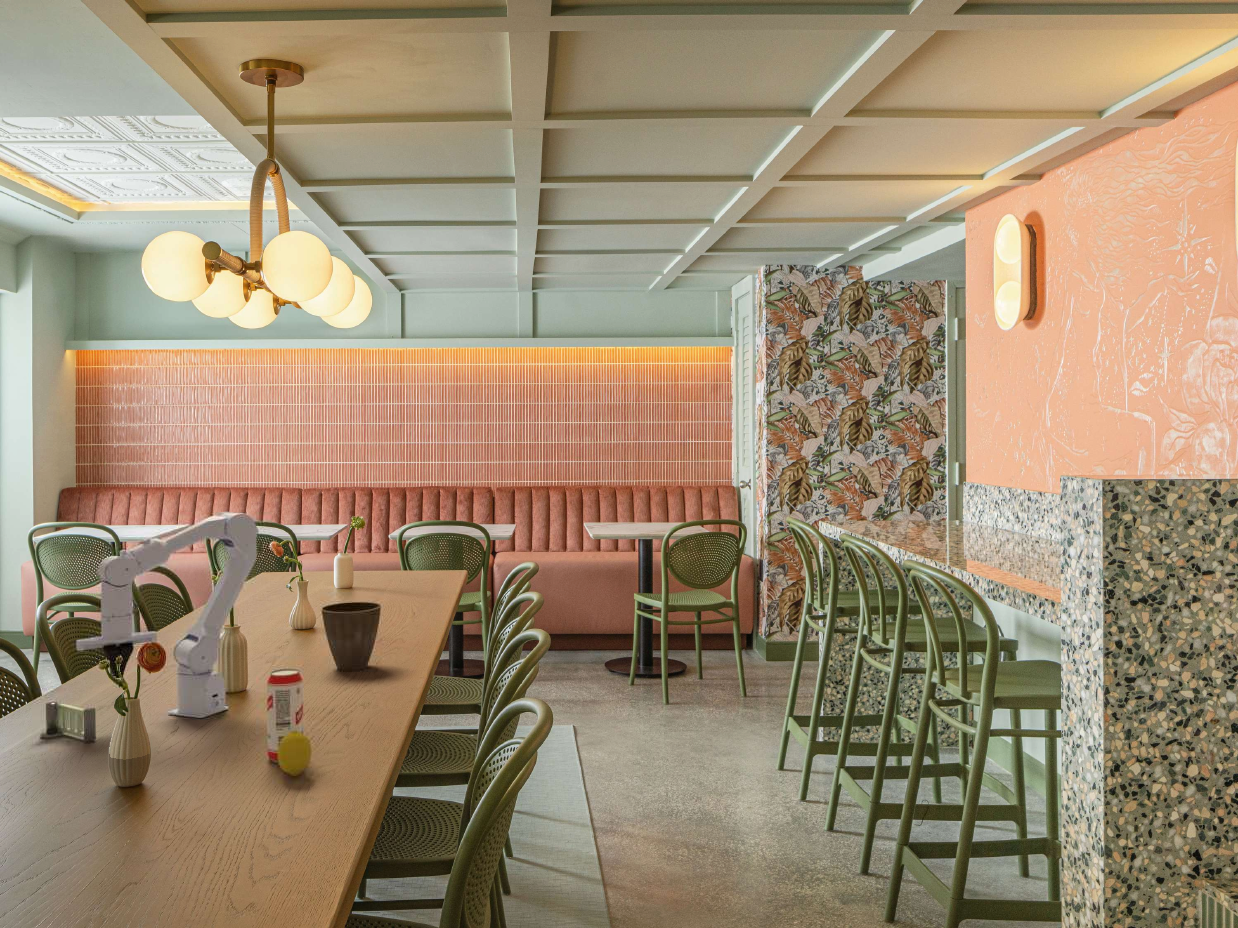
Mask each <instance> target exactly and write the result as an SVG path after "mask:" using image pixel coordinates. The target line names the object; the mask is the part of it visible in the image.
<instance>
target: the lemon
mask: <svg viewBox="0 0 1238 928" xmlns="http://www.w3.org/2000/svg"><path fill="white" fill-rule="evenodd" d="M311 759H312V747H311V743H310V740H309V738H308V737H307V735H306V734H302V733H300V732H297V731H296V730H293V731H292V732H291V733H289V734H287V735H286V736H285V737H284V738H283V739H282V740H281V742H280V745H279V748H278V762H279V763H278V765H279V766H280V768H281V770H283V772H286V773H288V774H290V775H291V776H292V777H297V776H298V775H299V774H300V773H301V772H302V771H304V770H306V768H307V767H308V766H309V764H310V762H311Z"/></svg>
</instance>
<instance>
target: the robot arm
mask: <svg viewBox="0 0 1238 928" xmlns="http://www.w3.org/2000/svg"><path fill="white" fill-rule="evenodd" d="M258 534H259V529H258V526H257V525H256V523H255V521H254V518H252V517H251V516H250V515H249V514H247V513H235V512H230V511H223V512H219V513H218V514H217V515H212V516H209V517H207V518H205V519H203V520H200V521H199V522H196V523H194V524H193V525H191V526H189V527H186V528H184V529H183V530H181V531H179V532H177V533H175V534H173V535H171V536H170V537H167V538H165V539H163V540H162V539H159V538H157V537H156V538H155V537H153V538H148V537H146V538H144V539H142V540H141V544H138V545H136V546H134V547H132V548H130V549H127V550H126V549H122V550H120V551H119V556H118V555H111V556H107V557H105V558H104V559H103V560H101V563H99V565H98V568H97V570H96V571H95V572H96V577H98V579H99V580H100V581H101V583H100V585H101V587H100V588H101V589H100V590H101V593H100V611H101V612H100V615H101V617H100V618H101V619H100V620H101V621H100V623H101V625H100V626H101V631H100V632H101V635H100V636H95V637H94V636H93V637H87V638H84V639H83V638H82V639H76V651H78V652H82V651H84V650H93V649H101V651H102V653H103V654H104V656H105V659H106V661H107V660H109V661H110V665H109V667H110V671H111V675H112V674H113V675H112V677H113V676H115V677H116V678H119V675H118V671H117V668H116V663H115V661H116V658H117V657H118V656H119V655H121V656H122V658H123V662H122V663H121V665H120V672H121V675H122V677H123V678H124V675H125V670H126V668H127V667H126V666H127V664H128V663H129V662H128V661H129V660H130V658H131V656H132V653H134V649H135V646H134V644H142V643H156V642H158V638H157V637H158V634H157V633H158V632H157V631H154V630H153V631H142V632H140V631H138V632H134V623H133V622H134V618H133V617H134V616H133V612H134V611H133V610H134V609H133V607H134V606H133V591H132V590H133V587H132V586H133V584H132V583H133V581H134V580H135V578H136V577H139V576H141V575H143V574H144V573H147V572H149V571H151V570H154V569H155V568H158V567H160V566H162V565H164V564H166V563H168V561H169V559H170V556H172V554H173V553H175V552H178V551H181V550H183V549H185V548H188V547H190V546H192V545H195V544H196V543H199V542H202V541H204V540H206V539H215V540H216V539H217V540H218V541H220V542H221V543H222V545H223V546H224V548H225V551H226V554H227V555H228V560H227V561H226V564H225V566H224V567H223V570H222V572H223V573H222V572H221V573H220V575H219V577H218V580H217V582H216V584H215V585H214V587H213V590H212V592H211V593H210V595H209V598H208V599H207V601H206V603H205V605H204V607H203V609H202V611H201V613H200V615H199V617H198V619H197V621H196V623H195V624H193V625H192V626H191V627H190V628H189V629H187V631H186V633H185V635H184V636H183V637H182V638H181V639H180V640H179V641H178V642H176V644H174V647H173V651H172V655H173V659H174V660H175V662H176V663H177V664H178V667H177V669H176V670H177V671H176V681H177V682H176V683H177V687H176V690H177V692H176V693H177V696H176V697H177V699H176V700H177V701H176V702H177V708H176V709H172V710H168V711H167V713H168V715H175V716H180V717H181V716H182V717H190V718H198V719H201V718H202V719H203V718H205V717H208V716H209V717H210V716H212V715H214V714H218V713H220V712H223V711H225V710H226V711H227V710H228V709H229V706H226V679H225V677H224V676H223V675H222V674H221V673H219V672H216V671H215V670H214V666H215V665H216V663H217V660H218V652H219V651H218V650H219V647H220V645H221V644H222V643H221V642H222V640H221V639H222V638H221V631H222V629H223V626H224V625H225V623H226V621H227V619H228V618H229V617H228V616H229V614H230V613H231V611H232V609H233V607H234V606H235V605H234V604H235V603H236V601H237V598H238V597H239V595H240V593H241V590H242V588H243V587H244V584H245V583H246V581H247V579H248V576H249V574H250V573H251V571H252V569H253V567H254V565H255V563H256V561H257V557H258V554H257V552H258V551H257V550H258V549H257V536H258Z"/></svg>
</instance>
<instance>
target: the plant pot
mask: <svg viewBox="0 0 1238 928" xmlns="http://www.w3.org/2000/svg"><path fill="white" fill-rule="evenodd" d="M320 609H321V616H322V620H323V621H322V622H323V626H324V631H325V636H326V640H327V643H328V647H329V650H330V652H331V656H332V658H333V661H334V663H335V666H336V668H337V670H338V669H339V671H341V670H342V672H354V671H360V670H361V669H362V670H365V669H366V668H367V667H368V665H369V662H370V659H371V657H372V653H373V650H374V646H375V643H376V638H377V634H378V630H379V624H380V618H381V610H382V604H380V603H376V602H369V601H351V602H350V601H349V602H341V603H340V602H339V603H334V604H328V605H325V606H322V607H321V608H320ZM362 670H361V671H362Z"/></svg>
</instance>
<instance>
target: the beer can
mask: <svg viewBox="0 0 1238 928" xmlns="http://www.w3.org/2000/svg"><path fill="white" fill-rule="evenodd" d="M269 674H270V676H269V677H268V680H267V683H266V692H267V693H266V695H267V696H266V708H267V715H266V717H267V719H266V720H267V721H266V722H267V725H266V726H267V757H268V759H269V760H271V761H272V762H273V763H277V764H279V762H278V748H279V745H280V742H281V740H282V739H283V738H284V737H285V736H286V735H287V734H289V733H291V732H292V731H293V730H296V731H297V732H300V733H302V734H304V685H303V684H304V681H303V678H302V676H301V674H300V670H299V669H297V668H281V669H276V670H272V671H271V672H269ZM304 735H305V734H304Z"/></svg>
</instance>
